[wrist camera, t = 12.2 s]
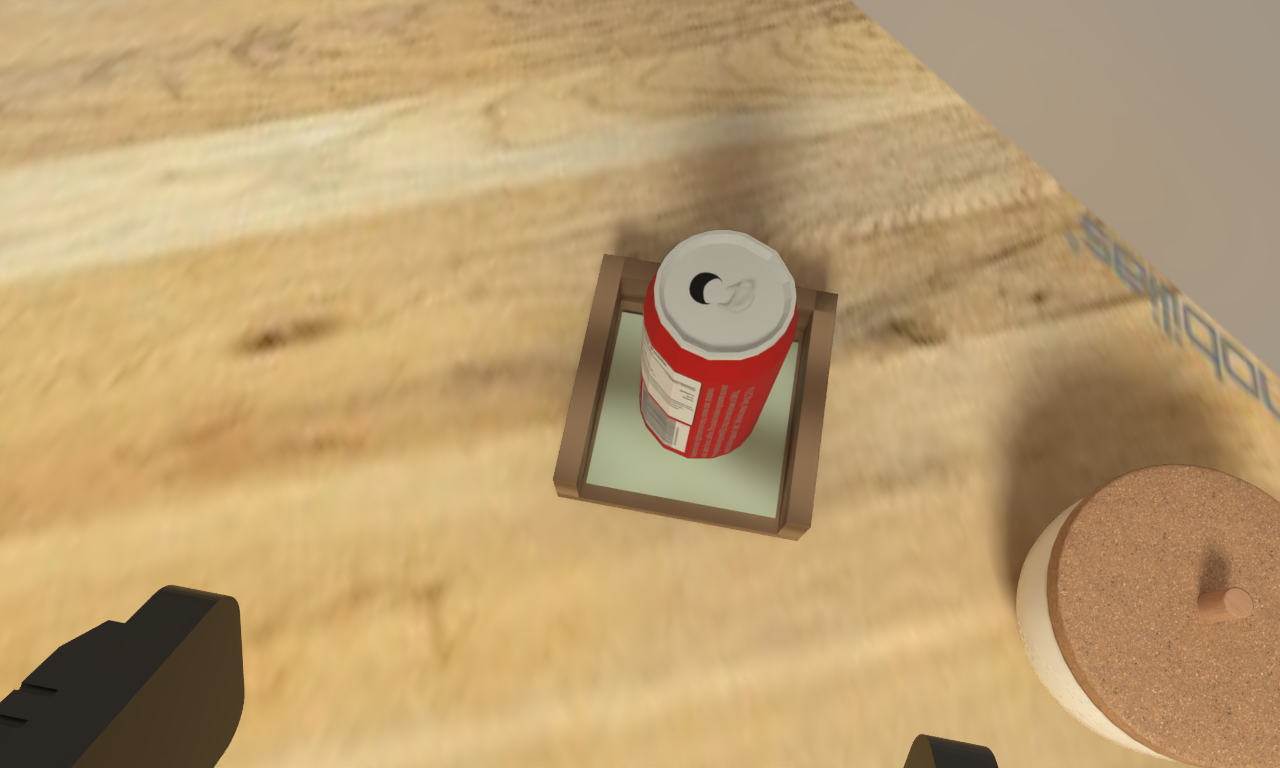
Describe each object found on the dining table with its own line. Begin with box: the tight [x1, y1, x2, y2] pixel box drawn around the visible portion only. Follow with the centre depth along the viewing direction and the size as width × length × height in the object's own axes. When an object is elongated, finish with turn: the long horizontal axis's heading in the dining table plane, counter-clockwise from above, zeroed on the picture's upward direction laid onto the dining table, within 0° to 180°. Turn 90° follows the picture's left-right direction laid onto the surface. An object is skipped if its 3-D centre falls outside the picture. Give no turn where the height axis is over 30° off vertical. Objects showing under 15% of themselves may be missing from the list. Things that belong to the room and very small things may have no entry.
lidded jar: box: [1016, 464, 1280, 768], centre depth 34 cm, size 11×11×9 cm
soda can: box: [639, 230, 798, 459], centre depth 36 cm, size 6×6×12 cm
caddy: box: [553, 254, 838, 541], centre depth 41 cm, size 11×11×3 cm
